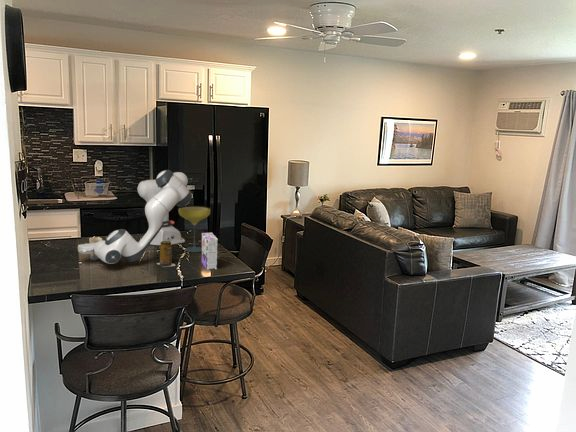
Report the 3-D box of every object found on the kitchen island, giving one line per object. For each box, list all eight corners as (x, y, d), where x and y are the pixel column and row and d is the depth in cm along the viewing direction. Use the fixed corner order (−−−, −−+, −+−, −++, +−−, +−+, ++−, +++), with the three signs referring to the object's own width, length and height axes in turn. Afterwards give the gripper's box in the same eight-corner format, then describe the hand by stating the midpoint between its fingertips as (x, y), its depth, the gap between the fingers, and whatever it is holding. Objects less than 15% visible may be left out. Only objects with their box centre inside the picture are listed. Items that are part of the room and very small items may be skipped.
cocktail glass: (212, 252, 263) (213, 210, 259) (181, 254, 256) (181, 210, 252) (206, 245, 280) (206, 205, 275) (176, 246, 273) (176, 205, 268)
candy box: (201, 262, 243) (201, 232, 240) (212, 261, 245) (212, 232, 242) (206, 270, 230) (206, 238, 227) (217, 269, 232) (218, 238, 229)
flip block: (102, 238, 240) (102, 258, 242) (99, 236, 243) (99, 256, 245) (92, 239, 236) (92, 260, 238) (89, 237, 240) (90, 258, 242)
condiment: (169, 261, 242) (169, 239, 240) (176, 265, 236) (176, 243, 234) (156, 263, 238) (156, 241, 235) (163, 267, 231) (162, 244, 229)
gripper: (81, 258, 225) (74, 252, 235) (123, 252, 237) (115, 246, 248) (81, 246, 223) (73, 240, 234) (123, 240, 236) (114, 235, 246)
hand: (95, 243), depth 241 cm, fingers open, 8 cm apart
